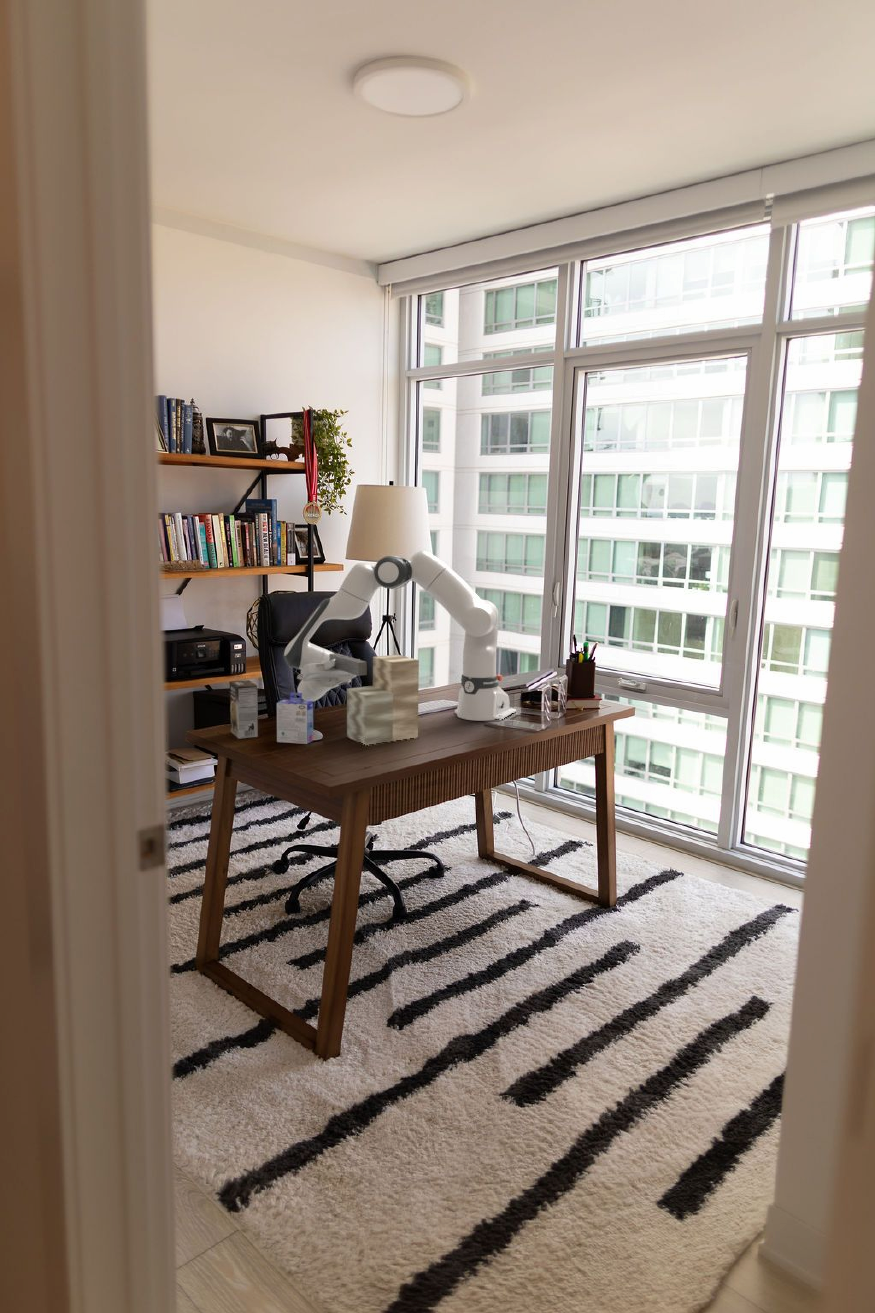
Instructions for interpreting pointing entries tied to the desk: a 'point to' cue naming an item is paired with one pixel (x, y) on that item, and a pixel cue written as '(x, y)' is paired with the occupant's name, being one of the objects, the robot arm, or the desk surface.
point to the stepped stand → (385, 702)
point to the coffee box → (243, 709)
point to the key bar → (349, 664)
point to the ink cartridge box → (295, 720)
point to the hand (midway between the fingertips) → (341, 660)
